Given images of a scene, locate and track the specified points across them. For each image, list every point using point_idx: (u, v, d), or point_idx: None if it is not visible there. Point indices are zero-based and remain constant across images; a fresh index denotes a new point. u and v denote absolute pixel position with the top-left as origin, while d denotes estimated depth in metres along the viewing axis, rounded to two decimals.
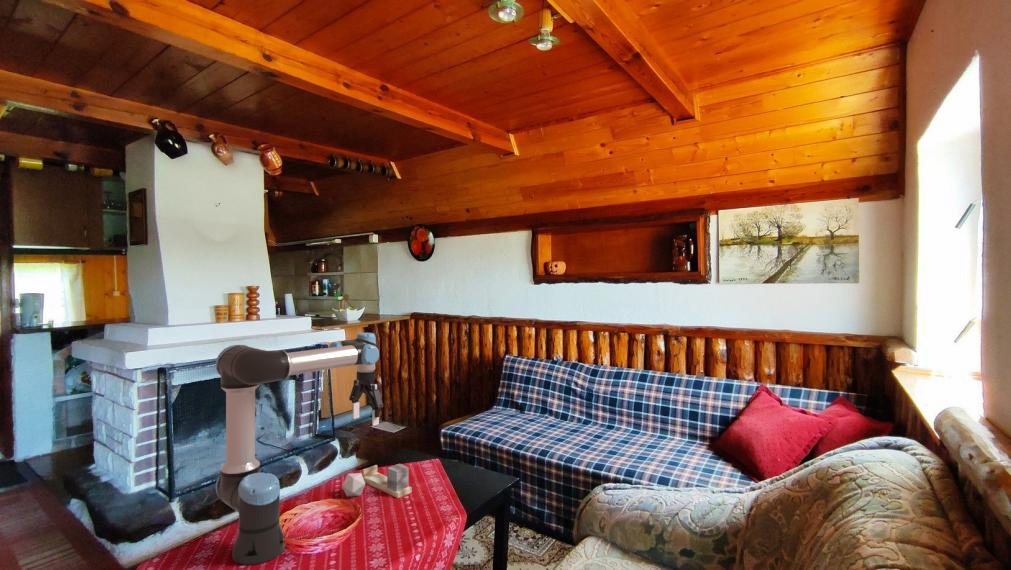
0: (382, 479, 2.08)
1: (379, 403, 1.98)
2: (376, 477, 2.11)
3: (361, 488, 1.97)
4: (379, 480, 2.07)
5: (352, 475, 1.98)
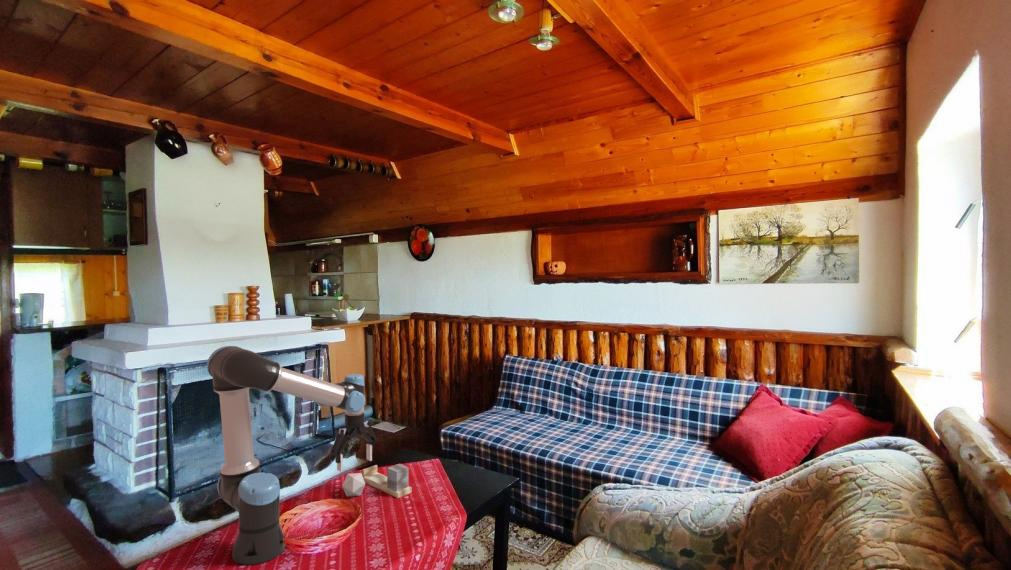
0: (382, 479, 2.08)
1: (333, 449, 1.91)
2: (376, 477, 2.11)
3: (361, 488, 1.97)
4: (379, 480, 2.07)
5: (352, 475, 1.98)
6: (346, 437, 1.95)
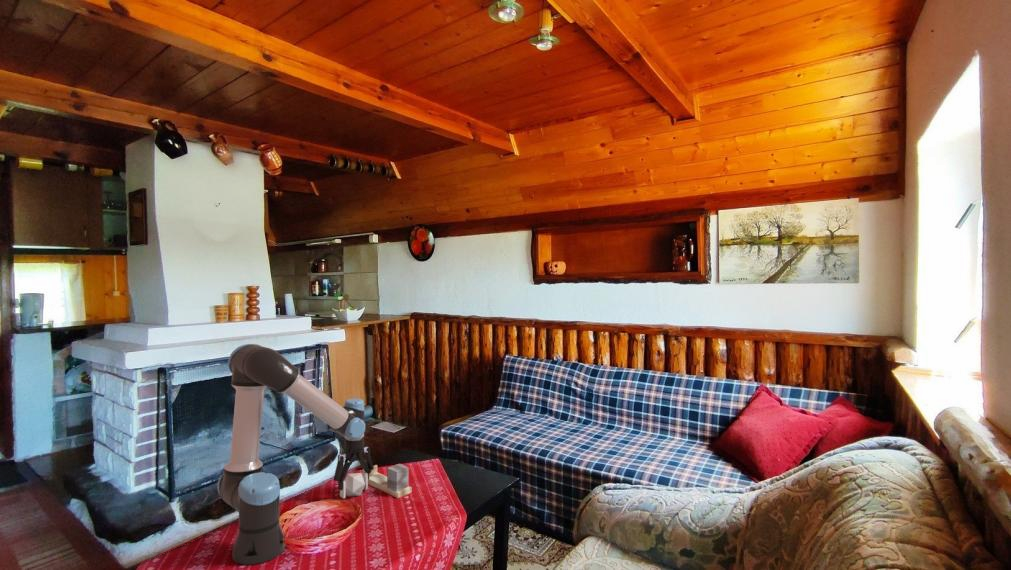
0: (382, 479, 2.08)
1: (335, 476, 1.93)
2: (376, 477, 2.11)
3: (361, 488, 1.97)
4: (379, 480, 2.07)
5: (352, 475, 1.98)
6: (347, 463, 1.96)
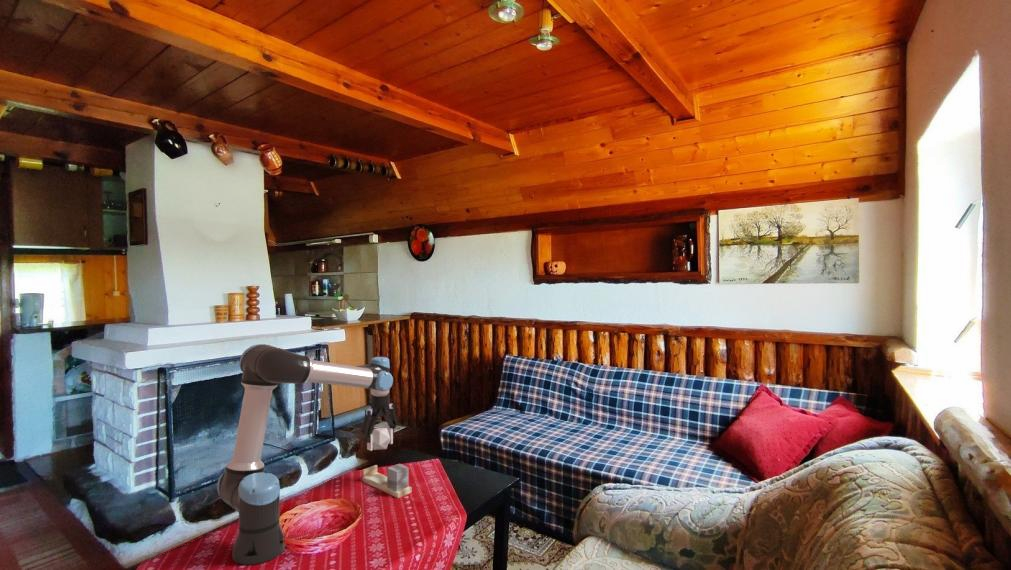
0: (382, 479, 2.08)
1: (363, 429, 2.02)
2: (376, 477, 2.11)
3: (387, 441, 2.06)
4: (379, 480, 2.07)
5: (378, 429, 2.07)
6: (373, 417, 2.05)
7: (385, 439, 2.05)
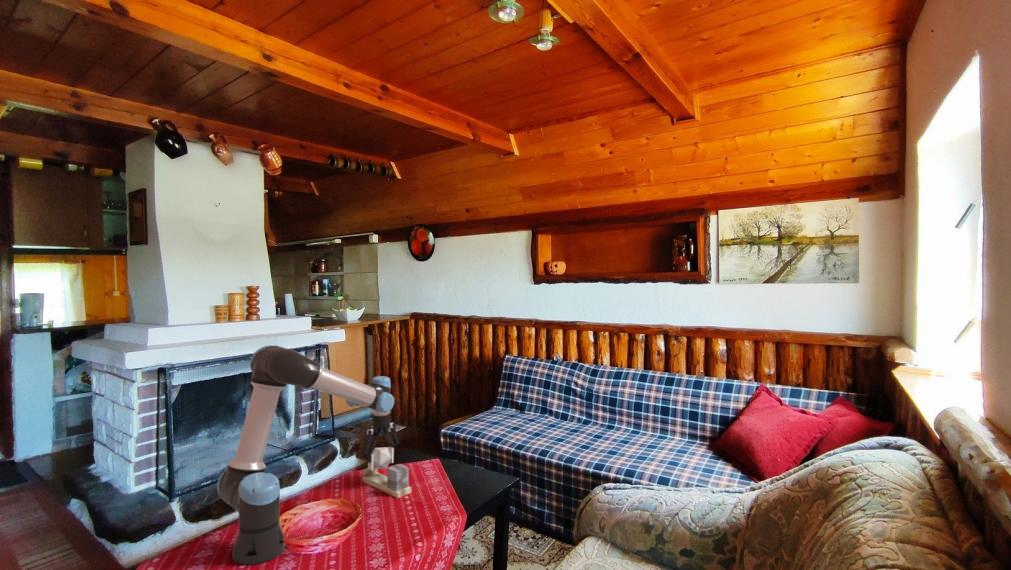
0: (382, 479, 2.08)
1: (364, 449, 2.03)
2: (376, 477, 2.11)
3: (388, 461, 2.07)
4: (379, 480, 2.07)
5: (379, 449, 2.08)
6: (374, 437, 2.06)
7: (386, 459, 2.06)
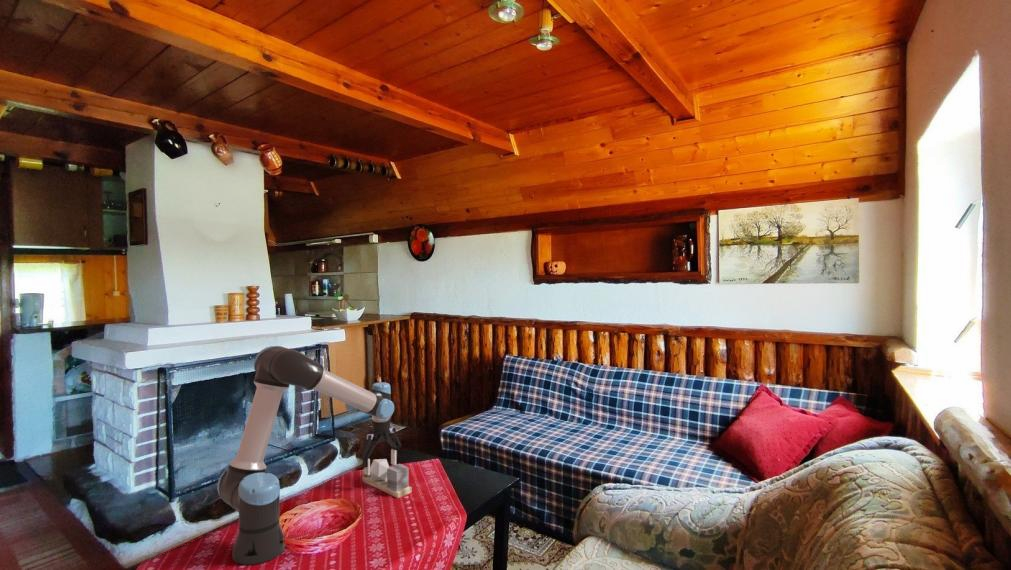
0: None
1: (361, 453, 2.02)
2: None
3: (386, 473, 2.07)
4: None
5: (378, 461, 2.08)
6: (373, 442, 2.05)
7: (384, 471, 2.06)
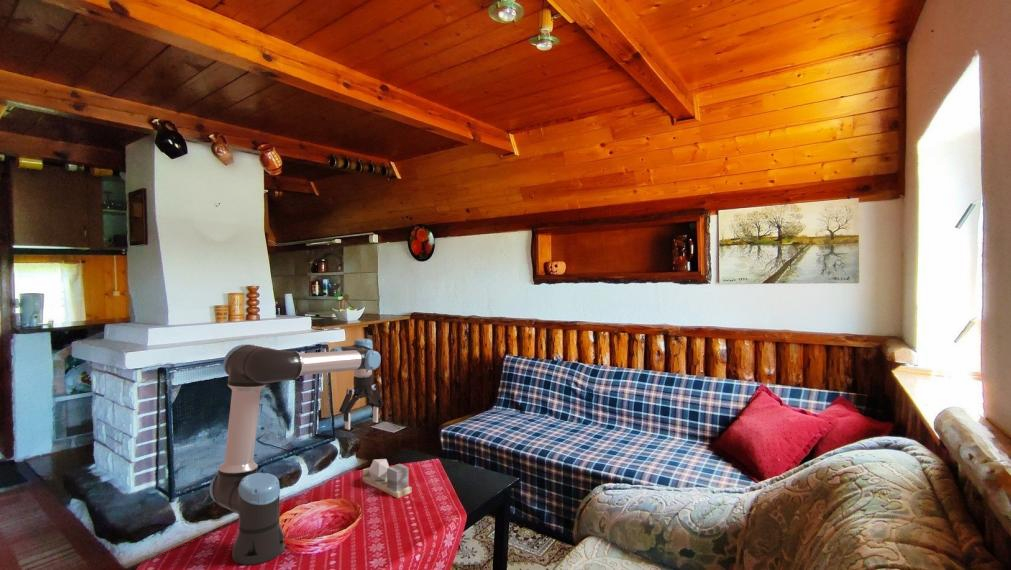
0: None
1: (341, 407, 2.02)
2: None
3: (386, 473, 2.07)
4: None
5: (378, 461, 2.08)
6: (354, 397, 2.06)
7: (384, 471, 2.06)
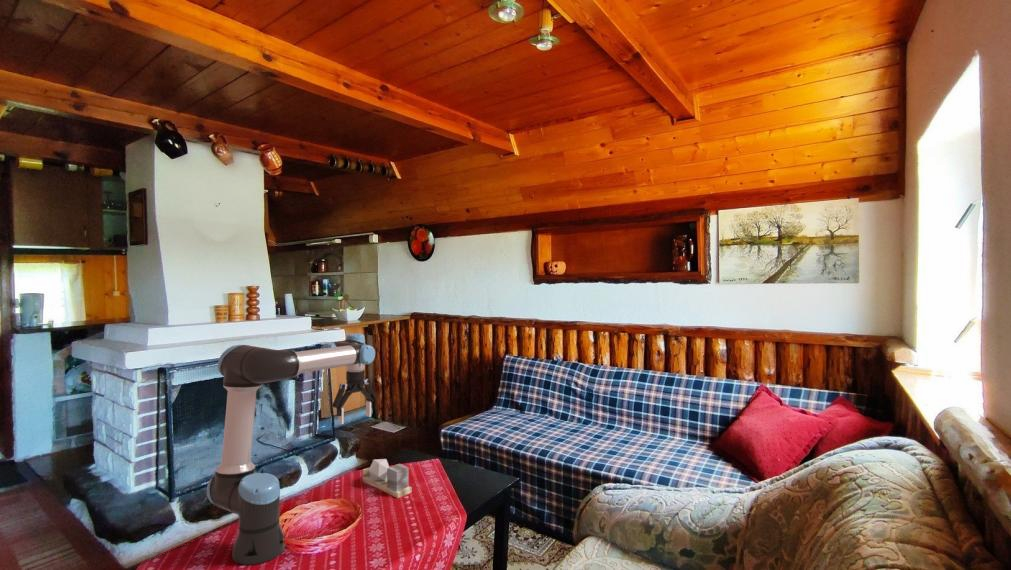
0: None
1: (335, 402, 2.03)
2: None
3: (386, 473, 2.07)
4: None
5: (378, 461, 2.08)
6: (347, 392, 2.06)
7: (384, 471, 2.06)
